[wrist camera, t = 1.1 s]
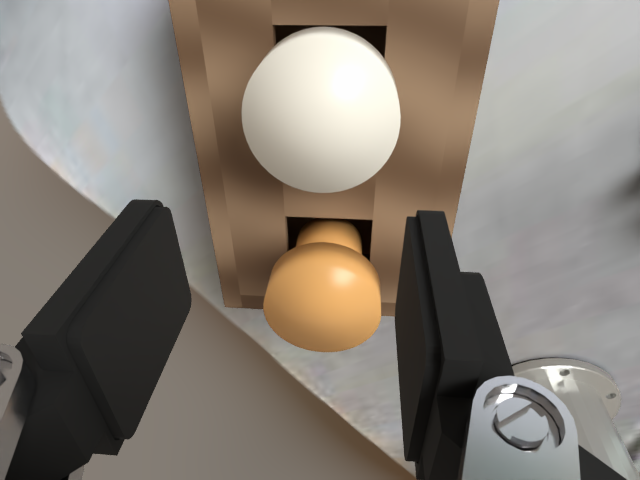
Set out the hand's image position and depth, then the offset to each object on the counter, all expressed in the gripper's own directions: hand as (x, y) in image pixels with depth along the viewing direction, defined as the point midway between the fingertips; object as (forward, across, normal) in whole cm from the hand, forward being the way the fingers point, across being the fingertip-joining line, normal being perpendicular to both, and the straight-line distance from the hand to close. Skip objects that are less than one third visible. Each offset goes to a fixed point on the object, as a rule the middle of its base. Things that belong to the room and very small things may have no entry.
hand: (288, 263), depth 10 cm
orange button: (+14, 0, +10) cm, 18 cm away
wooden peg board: (+19, 0, +5) cm, 20 cm away
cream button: (+14, 0, 0) cm, 14 cm away
